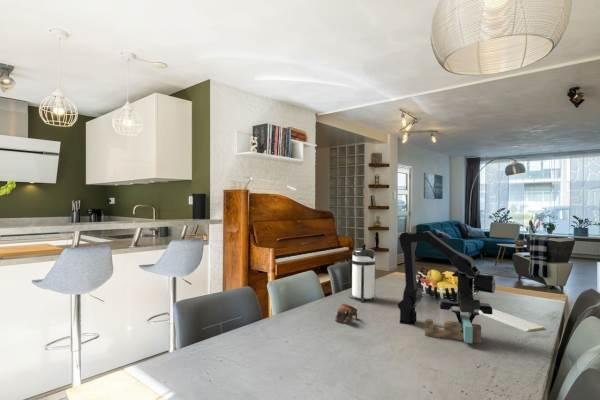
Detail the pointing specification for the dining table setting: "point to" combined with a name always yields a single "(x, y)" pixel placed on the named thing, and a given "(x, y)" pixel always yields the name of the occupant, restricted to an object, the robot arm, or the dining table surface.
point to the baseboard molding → (512, 321)
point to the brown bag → (348, 315)
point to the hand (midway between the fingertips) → (464, 327)
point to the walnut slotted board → (451, 330)
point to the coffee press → (362, 273)
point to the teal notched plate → (466, 329)
